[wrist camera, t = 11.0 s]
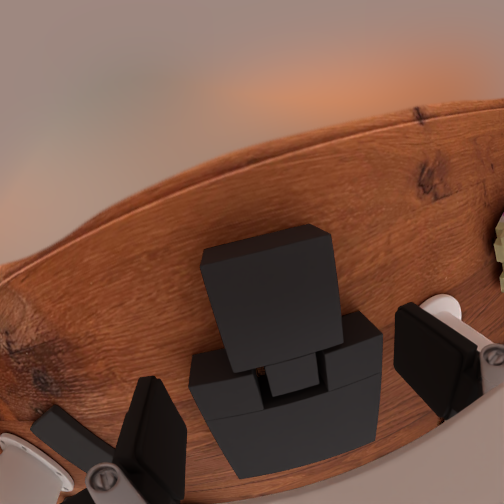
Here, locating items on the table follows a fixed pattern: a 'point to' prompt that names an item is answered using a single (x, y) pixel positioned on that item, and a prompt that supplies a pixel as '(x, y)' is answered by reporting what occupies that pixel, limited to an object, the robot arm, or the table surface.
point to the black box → (293, 405)
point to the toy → (500, 247)
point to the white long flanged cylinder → (453, 317)
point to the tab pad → (276, 303)
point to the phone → (71, 439)
